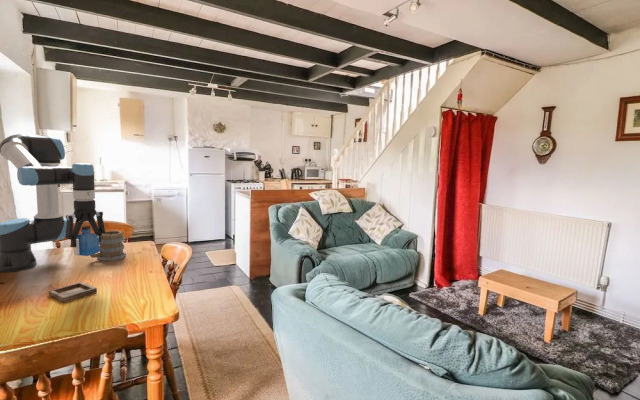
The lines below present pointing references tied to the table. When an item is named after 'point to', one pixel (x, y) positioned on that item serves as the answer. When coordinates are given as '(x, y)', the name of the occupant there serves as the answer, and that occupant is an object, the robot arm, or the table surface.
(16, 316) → the table surface
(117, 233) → the tankard
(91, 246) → the perfume bottle
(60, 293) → the walnut tray
